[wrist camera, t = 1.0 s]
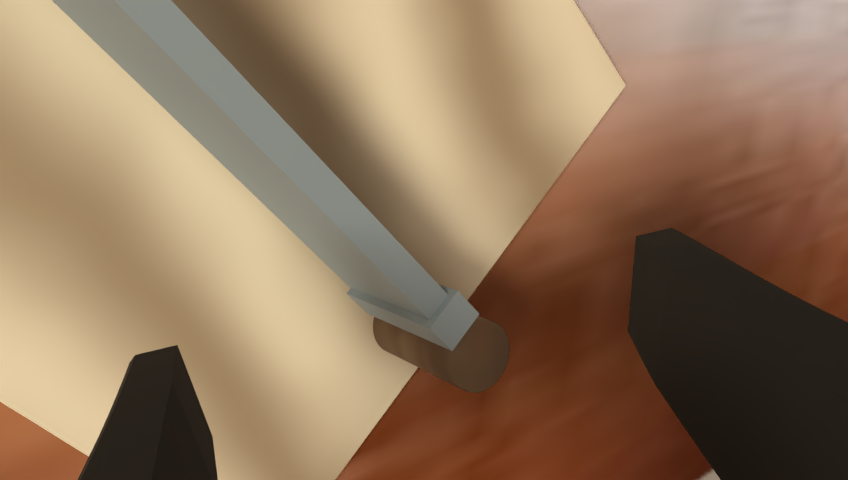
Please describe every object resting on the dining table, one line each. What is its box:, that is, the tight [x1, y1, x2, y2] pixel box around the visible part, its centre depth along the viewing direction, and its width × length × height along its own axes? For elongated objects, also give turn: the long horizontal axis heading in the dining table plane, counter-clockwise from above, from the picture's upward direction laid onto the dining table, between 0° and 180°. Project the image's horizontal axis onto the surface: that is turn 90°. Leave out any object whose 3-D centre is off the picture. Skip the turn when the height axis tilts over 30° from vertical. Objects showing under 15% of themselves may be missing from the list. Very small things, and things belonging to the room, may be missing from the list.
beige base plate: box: [0, 0, 626, 480], centre depth 19 cm, size 20×20×6 cm
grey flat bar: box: [52, 0, 479, 351], centre depth 19 cm, size 14×1×4 cm, turn 45°
